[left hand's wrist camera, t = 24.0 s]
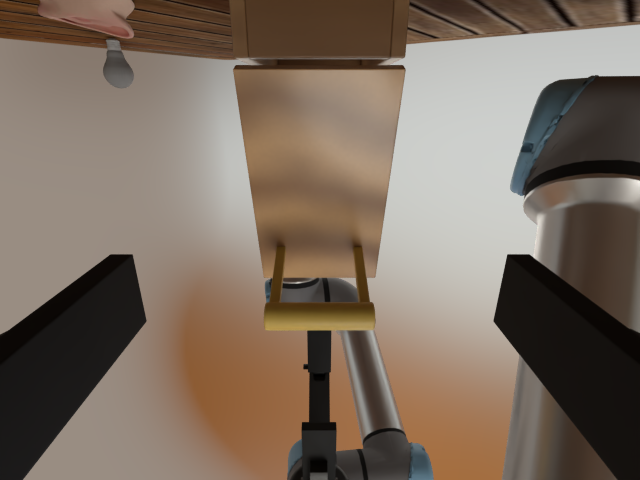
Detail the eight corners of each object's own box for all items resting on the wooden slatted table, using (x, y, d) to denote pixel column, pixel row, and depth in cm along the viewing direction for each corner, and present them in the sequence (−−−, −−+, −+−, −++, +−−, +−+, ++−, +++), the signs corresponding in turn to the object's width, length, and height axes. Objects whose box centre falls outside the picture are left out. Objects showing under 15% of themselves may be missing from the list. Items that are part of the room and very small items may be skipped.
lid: (374, 271, 31) (387, 355, 25) (264, 271, 31) (251, 355, 25) (403, 64, 20) (440, 123, 14) (235, 64, 20) (198, 123, 14)
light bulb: (121, 36, 76) (130, 87, 79) (131, 40, 81) (139, 88, 85) (91, 35, 75) (101, 87, 79) (103, 40, 80) (112, 88, 84)
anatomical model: (20, 16, 39) (137, 25, 43) (9, -28, 37) (131, -15, 42) (49, 35, 50) (140, 40, 55) (41, 1, 49) (135, 9, 53)
